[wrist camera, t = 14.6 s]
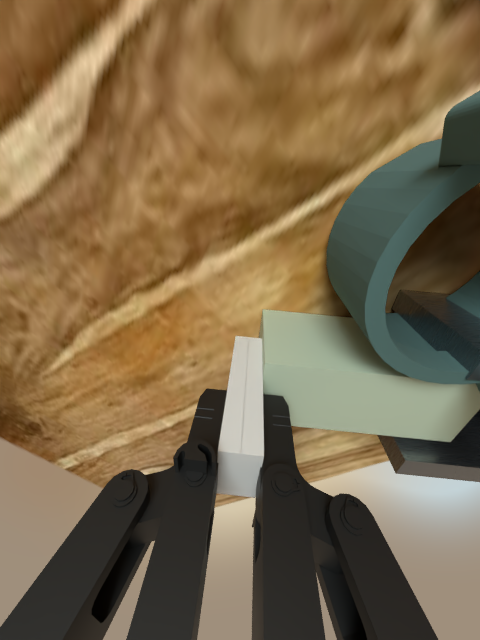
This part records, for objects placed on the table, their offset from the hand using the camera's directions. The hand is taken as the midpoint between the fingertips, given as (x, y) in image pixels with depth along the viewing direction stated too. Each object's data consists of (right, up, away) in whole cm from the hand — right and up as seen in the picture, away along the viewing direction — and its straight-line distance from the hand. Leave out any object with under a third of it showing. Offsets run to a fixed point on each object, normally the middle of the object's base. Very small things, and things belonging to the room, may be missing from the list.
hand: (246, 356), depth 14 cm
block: (+6, +1, +2) cm, 6 cm away
